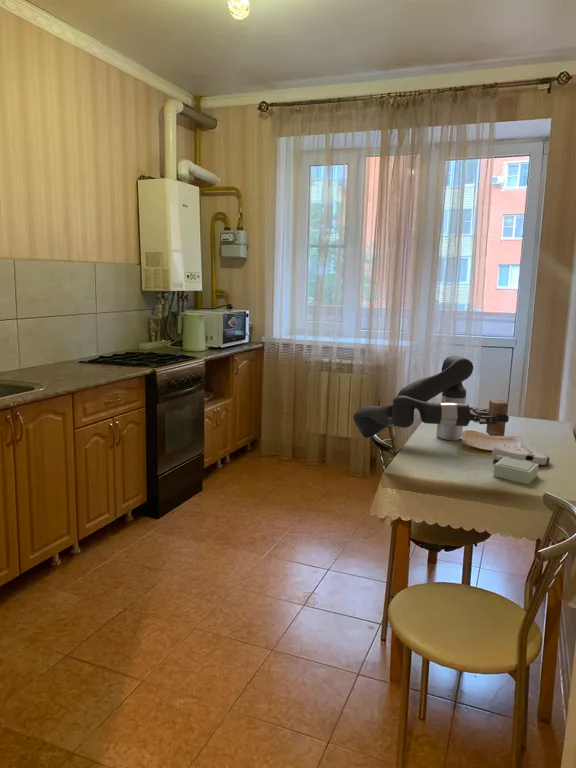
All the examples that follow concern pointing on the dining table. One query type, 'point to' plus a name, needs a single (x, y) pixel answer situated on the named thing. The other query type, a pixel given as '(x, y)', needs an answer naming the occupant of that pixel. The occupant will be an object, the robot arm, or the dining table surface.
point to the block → (498, 409)
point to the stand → (515, 470)
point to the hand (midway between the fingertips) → (505, 416)
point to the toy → (520, 454)
